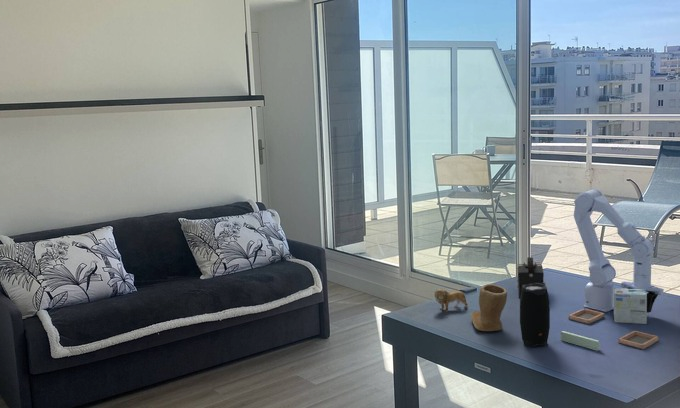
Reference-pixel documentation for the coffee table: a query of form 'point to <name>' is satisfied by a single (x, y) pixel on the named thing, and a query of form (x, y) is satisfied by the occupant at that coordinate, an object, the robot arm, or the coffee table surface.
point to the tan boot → (490, 308)
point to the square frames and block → (588, 317)
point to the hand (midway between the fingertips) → (641, 310)
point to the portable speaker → (534, 314)
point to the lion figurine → (449, 298)
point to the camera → (529, 274)
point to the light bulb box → (630, 306)
